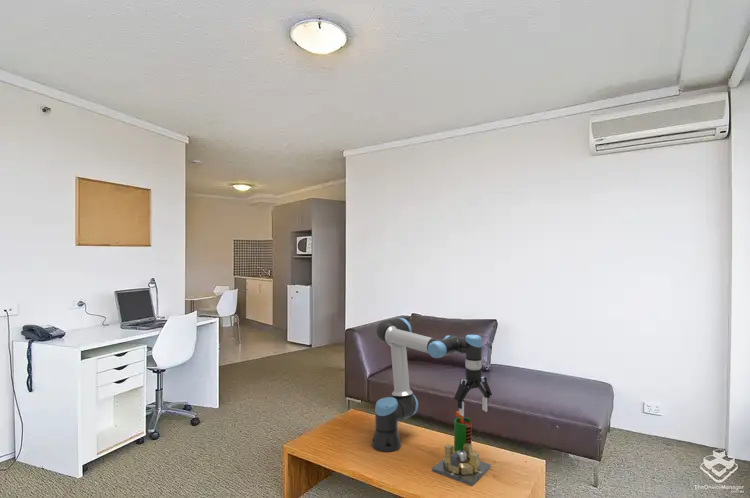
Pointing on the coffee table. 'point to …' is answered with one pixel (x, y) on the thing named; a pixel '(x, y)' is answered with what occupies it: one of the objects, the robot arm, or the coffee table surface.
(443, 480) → the coffee table surface
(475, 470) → the ring nut
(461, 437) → the motor
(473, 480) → the flange plate
